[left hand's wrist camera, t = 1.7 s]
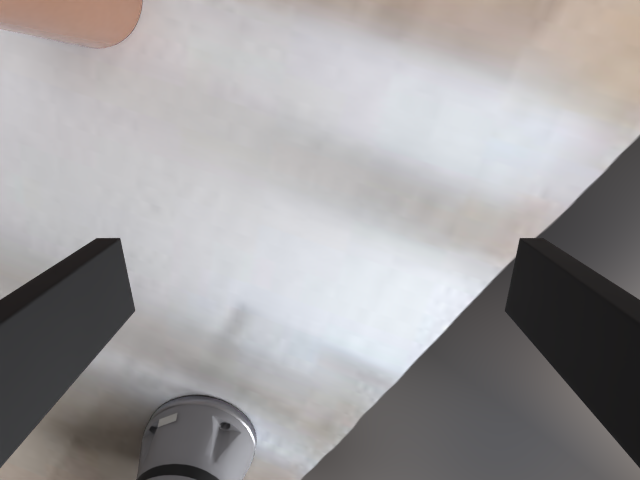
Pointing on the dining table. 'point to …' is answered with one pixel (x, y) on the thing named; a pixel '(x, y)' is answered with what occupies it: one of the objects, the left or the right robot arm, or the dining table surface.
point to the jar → (72, 20)
